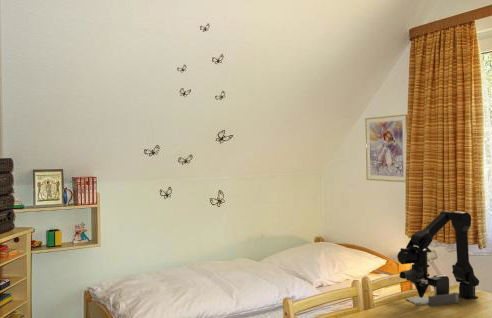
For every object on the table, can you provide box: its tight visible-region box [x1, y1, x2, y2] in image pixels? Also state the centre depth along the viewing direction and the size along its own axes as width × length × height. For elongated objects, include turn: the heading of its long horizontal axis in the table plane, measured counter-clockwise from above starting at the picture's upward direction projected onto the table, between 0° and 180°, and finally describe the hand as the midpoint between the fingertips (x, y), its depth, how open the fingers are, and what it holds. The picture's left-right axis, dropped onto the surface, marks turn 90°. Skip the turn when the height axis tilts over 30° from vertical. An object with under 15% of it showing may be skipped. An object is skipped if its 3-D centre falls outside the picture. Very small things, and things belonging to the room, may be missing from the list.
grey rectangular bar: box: [427, 292, 459, 307], centre depth 185 cm, size 15×2×4 cm, turn 108°
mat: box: [404, 296, 429, 306], centre depth 189 cm, size 10×9×1 cm
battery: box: [432, 274, 450, 295], centre depth 191 cm, size 7×4×11 cm, turn 105°
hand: (421, 297), depth 187 cm, fingers closed
